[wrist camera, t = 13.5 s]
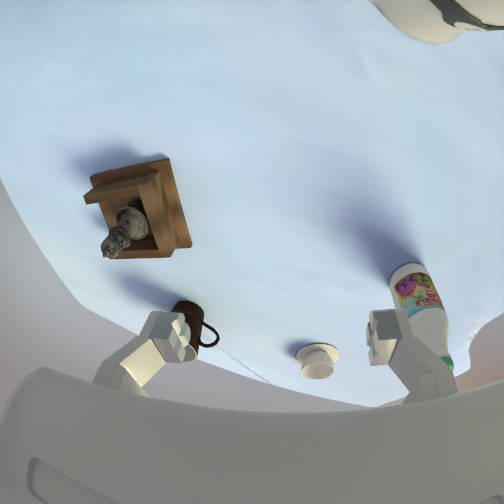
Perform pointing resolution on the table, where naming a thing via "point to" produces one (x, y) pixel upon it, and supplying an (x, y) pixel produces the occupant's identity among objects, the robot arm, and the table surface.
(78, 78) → the table surface
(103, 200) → the u-rest
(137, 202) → the grey chess piece
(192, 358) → the coffee mug
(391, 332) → the robot arm
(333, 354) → the teacup
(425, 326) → the milk bottle
